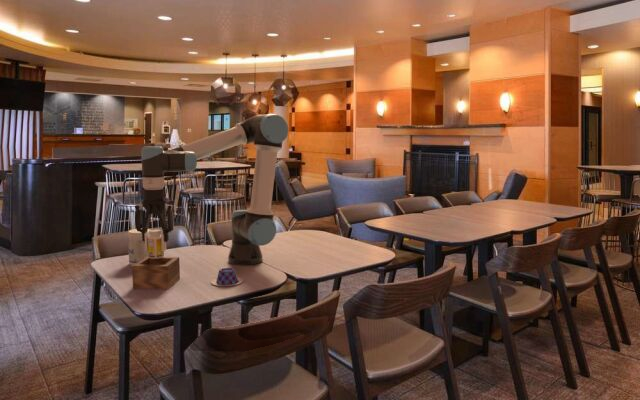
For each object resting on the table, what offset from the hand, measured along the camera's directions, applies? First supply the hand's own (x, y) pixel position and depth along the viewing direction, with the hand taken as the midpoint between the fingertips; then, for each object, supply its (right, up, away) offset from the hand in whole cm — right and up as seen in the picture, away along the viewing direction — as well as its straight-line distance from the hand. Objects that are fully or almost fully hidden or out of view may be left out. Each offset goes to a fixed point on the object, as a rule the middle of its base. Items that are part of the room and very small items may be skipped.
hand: (155, 249), depth 178 cm
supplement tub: (-16, -9, +28) cm, 34 cm away
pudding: (+26, -13, +4) cm, 29 cm away
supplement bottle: (0, -3, 0) cm, 3 cm away
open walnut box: (0, -13, +2) cm, 13 cm away
